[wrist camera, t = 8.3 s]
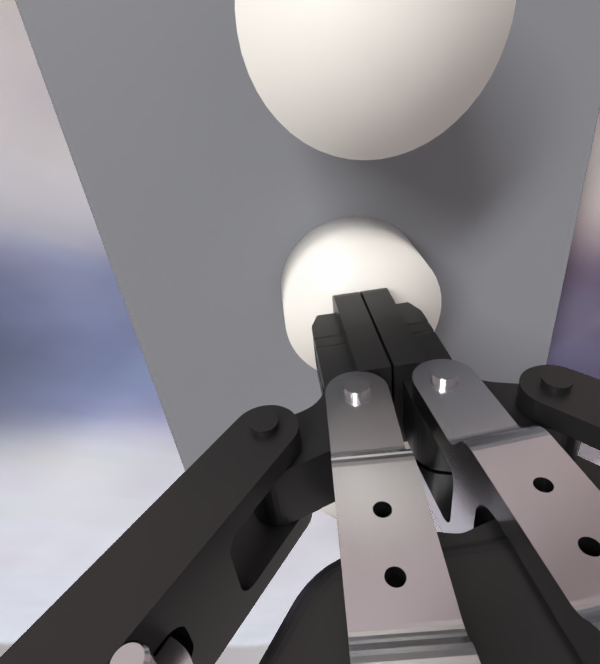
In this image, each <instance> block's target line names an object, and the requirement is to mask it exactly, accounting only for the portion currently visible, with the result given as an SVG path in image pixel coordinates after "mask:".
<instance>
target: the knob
mask: <svg viewBox="0 0 600 664" xmlns="http://www.w3.org/2000/svg"><path fill="white" fill-rule="evenodd" d="M515 5H516V0H235V17H236V27H237V35H238V39H239V44H240V48H241V53H242V56H243V59H244V62H245V65H246V68H247V71H248V74H249V76H250V78H251V80H252V82H253V84H254V87H255V89H256V91H257V92H258V94H259V96H260V97H261V99H262V100H263V102H264V104H265V105H266V107H267V108H268V109H269V111H270V112H271V113H272V114H273V116H274V117H275V118H276V119H277V120H278V122H279V123H281V124H282V125H283V126H284V127H285V128H286V129H287V130H288V131H289V132H290V133H291V134H293V135H294V136H295V137H297V138H298V139H300V140H301V141H302V142H304V143H305V144H307V145H309V146H311V147H313V148H315V149H317V150H319V151H321V152H324V153H327V154H329V155H332V156H336V157H340V158H345V159H352V160H377V159H384V158H389V157H394V156H398V155H401V154H404V153H406V152H409V151H412V150H414V149H416V148H418V147H420V146H422V145H424V144H426V143H428V142H430V141H431V140H433V139H434V138H436V137H437V136H439V135H440V134H442V133H443V132H444V131H445V130H447V129H448V128H449V127H450V126H451V125H453V124H454V123H455V122H456V121H457V120H458V119H459V118H460V117H461V116H462V115H463V114H464V113H465V112H466V111H467V110H468V109H469V107H470V106H471V105H472V104H473V102H474V101H475V100H476V98H477V97H478V96H479V95H480V93H481V92H482V90H483V89H484V87H485V85H486V84H487V82H488V81H489V79H490V77H491V76H492V74H493V72H494V70H495V68H496V66H497V64H498V61H499V59H500V57H501V55H502V52H503V49H504V47H505V44H506V41H507V39H508V36H509V32H510V28H511V24H512V21H513V17H514V11H515Z"/></svg>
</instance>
